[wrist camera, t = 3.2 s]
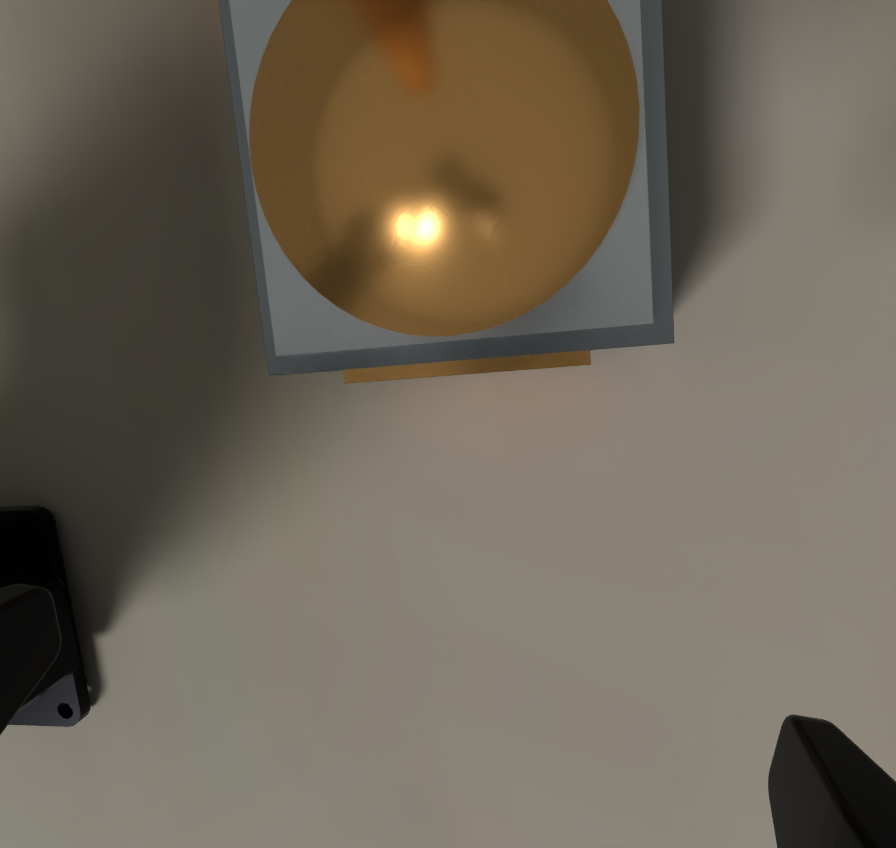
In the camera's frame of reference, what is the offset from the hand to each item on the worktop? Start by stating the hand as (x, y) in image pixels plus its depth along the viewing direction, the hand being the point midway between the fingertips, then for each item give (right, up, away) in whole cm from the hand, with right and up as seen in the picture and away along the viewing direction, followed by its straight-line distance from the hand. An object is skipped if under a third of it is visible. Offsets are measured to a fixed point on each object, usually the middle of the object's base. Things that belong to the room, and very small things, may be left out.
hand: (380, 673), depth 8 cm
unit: (+1, +9, +7) cm, 11 cm away
